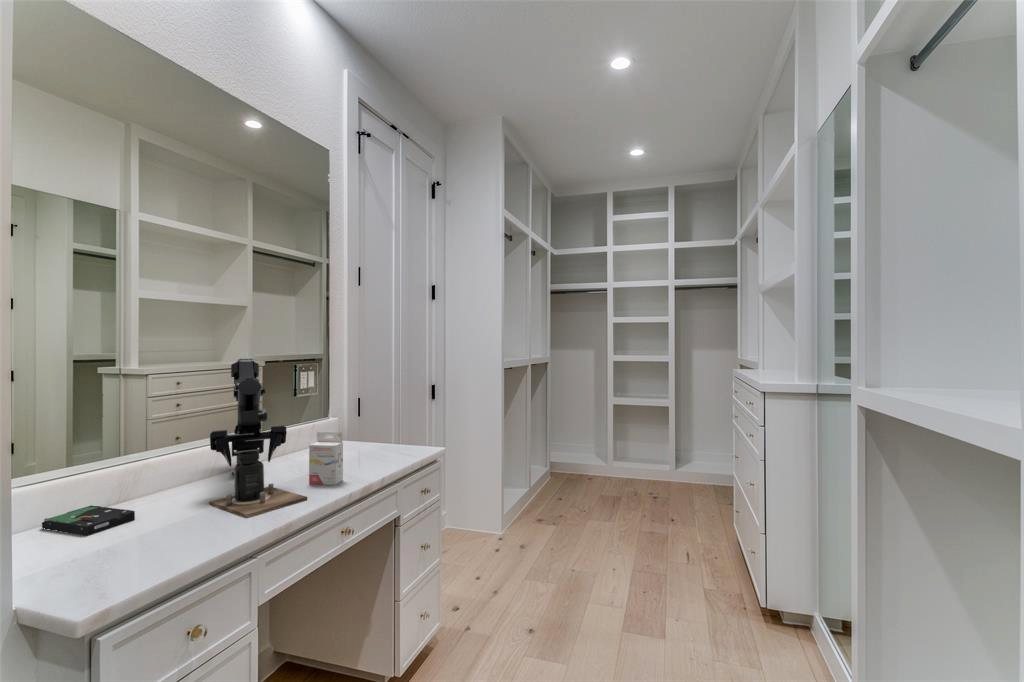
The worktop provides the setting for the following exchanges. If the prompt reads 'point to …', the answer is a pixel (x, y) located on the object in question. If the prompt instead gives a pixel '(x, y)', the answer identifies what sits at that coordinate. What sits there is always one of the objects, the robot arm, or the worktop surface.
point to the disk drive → (89, 520)
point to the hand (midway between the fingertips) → (250, 463)
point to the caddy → (258, 502)
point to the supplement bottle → (248, 477)
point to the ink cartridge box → (326, 459)
